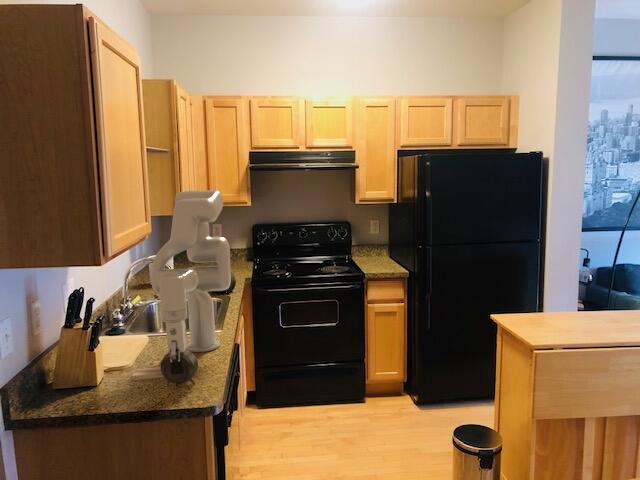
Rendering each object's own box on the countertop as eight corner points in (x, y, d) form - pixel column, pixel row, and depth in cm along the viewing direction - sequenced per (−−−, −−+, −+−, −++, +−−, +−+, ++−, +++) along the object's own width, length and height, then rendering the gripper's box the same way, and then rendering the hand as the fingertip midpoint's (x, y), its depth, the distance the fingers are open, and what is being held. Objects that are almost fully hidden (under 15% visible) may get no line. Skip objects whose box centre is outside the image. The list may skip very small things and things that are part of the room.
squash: (224, 287, 250) (231, 263, 258) (200, 286, 256) (208, 263, 263) (235, 299, 261) (242, 275, 269) (213, 298, 267) (220, 275, 274)
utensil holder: (161, 280, 295) (159, 253, 292) (180, 282, 289) (178, 254, 286) (144, 286, 281) (142, 257, 279) (163, 288, 276) (161, 259, 273)
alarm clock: (199, 382, 149) (196, 334, 146) (193, 390, 143) (189, 340, 141) (167, 381, 150) (163, 333, 148) (159, 389, 145) (155, 339, 142)
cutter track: (135, 373, 157) (134, 361, 156) (186, 368, 160) (185, 356, 159) (132, 380, 152) (131, 367, 151) (184, 374, 155) (183, 362, 154)
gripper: (184, 321, 136) (188, 378, 138) (189, 305, 152) (193, 356, 155) (157, 324, 134) (161, 380, 137) (166, 307, 151) (170, 358, 154)
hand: (178, 367), depth 146 cm, fingers open, 8 cm apart
